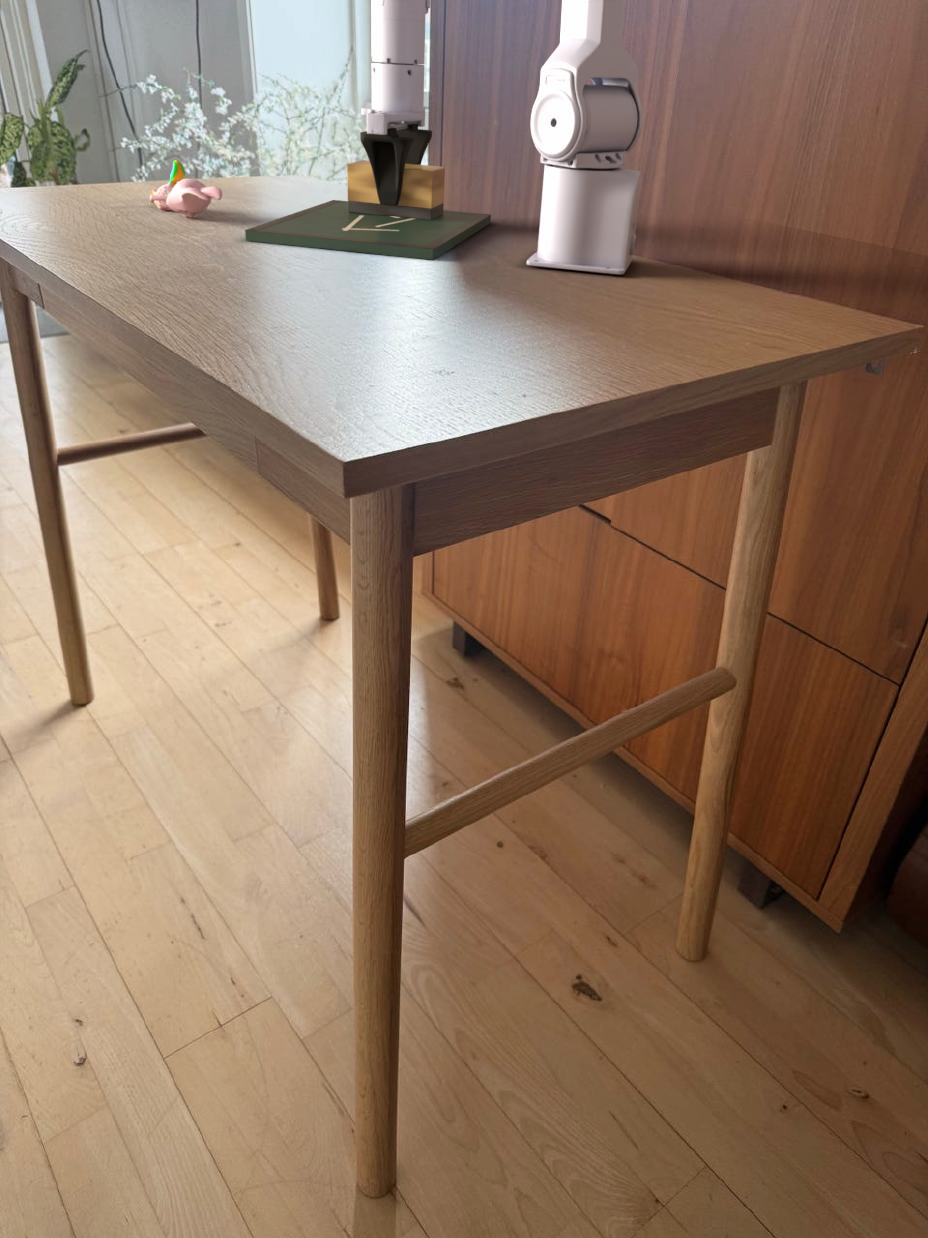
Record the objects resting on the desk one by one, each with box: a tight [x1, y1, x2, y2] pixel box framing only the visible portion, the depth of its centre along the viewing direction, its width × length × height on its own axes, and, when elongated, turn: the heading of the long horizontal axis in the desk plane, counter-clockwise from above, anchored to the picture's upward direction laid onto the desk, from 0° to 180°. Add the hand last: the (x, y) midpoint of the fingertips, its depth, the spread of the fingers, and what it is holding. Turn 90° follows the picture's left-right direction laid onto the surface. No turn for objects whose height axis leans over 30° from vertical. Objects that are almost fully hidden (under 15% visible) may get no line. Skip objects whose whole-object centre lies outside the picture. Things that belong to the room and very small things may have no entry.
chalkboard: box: [244, 199, 492, 261], centre depth 103 cm, size 20×24×1 cm
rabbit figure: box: [149, 159, 223, 218], centre depth 104 cm, size 6×6×15 cm
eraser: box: [346, 159, 446, 220], centre depth 107 cm, size 10×5×5 cm, turn 75°
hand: (396, 200), depth 107 cm, fingers closed on eraser, 5 cm apart
